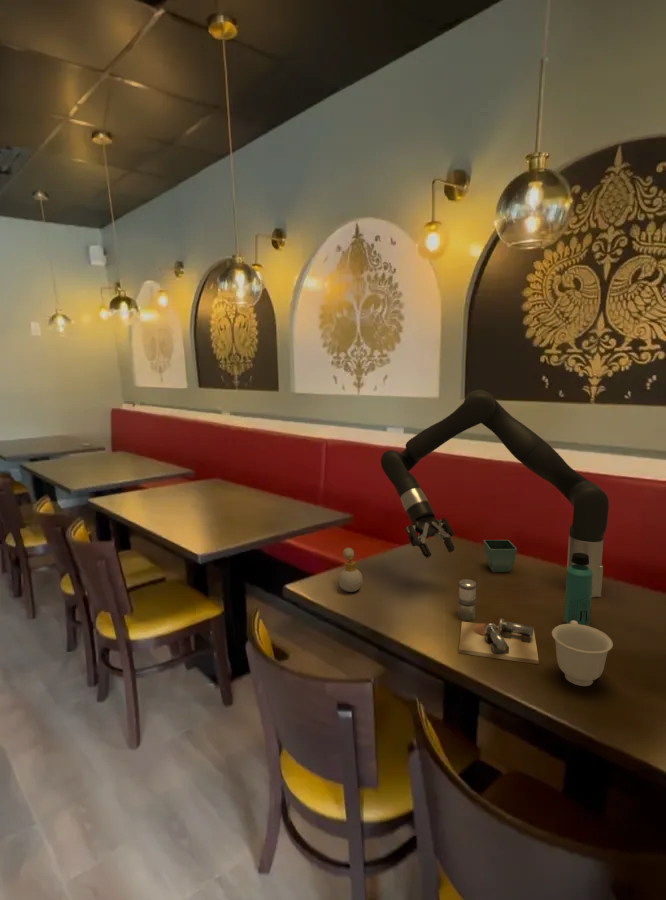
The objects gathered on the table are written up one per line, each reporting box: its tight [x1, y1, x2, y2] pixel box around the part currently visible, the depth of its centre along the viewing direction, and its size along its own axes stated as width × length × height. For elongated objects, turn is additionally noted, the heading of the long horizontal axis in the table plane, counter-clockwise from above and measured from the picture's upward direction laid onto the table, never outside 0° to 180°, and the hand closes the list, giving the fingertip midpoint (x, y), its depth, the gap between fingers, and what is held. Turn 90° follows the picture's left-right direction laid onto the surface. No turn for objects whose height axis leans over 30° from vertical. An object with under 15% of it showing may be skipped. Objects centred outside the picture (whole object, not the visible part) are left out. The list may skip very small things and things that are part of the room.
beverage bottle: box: [563, 553, 593, 626], centre depth 136 cm, size 6×7×20 cm
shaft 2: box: [498, 617, 535, 643], centre depth 131 cm, size 8×4×4 cm, turn 63°
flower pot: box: [483, 539, 518, 573], centre depth 175 cm, size 9×9×9 cm
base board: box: [458, 621, 539, 665], centre depth 130 cm, size 18×14×1 cm
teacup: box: [551, 620, 614, 687], centre depth 116 cm, size 12×15×10 cm
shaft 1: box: [484, 622, 509, 654], centre depth 127 cm, size 8×4×4 cm, turn 3°
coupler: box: [457, 578, 477, 621], centre depth 143 cm, size 5×5×10 cm
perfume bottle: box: [338, 547, 364, 593], centre depth 162 cm, size 8×10×12 cm
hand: (440, 553), depth 151 cm, fingers open, 8 cm apart
